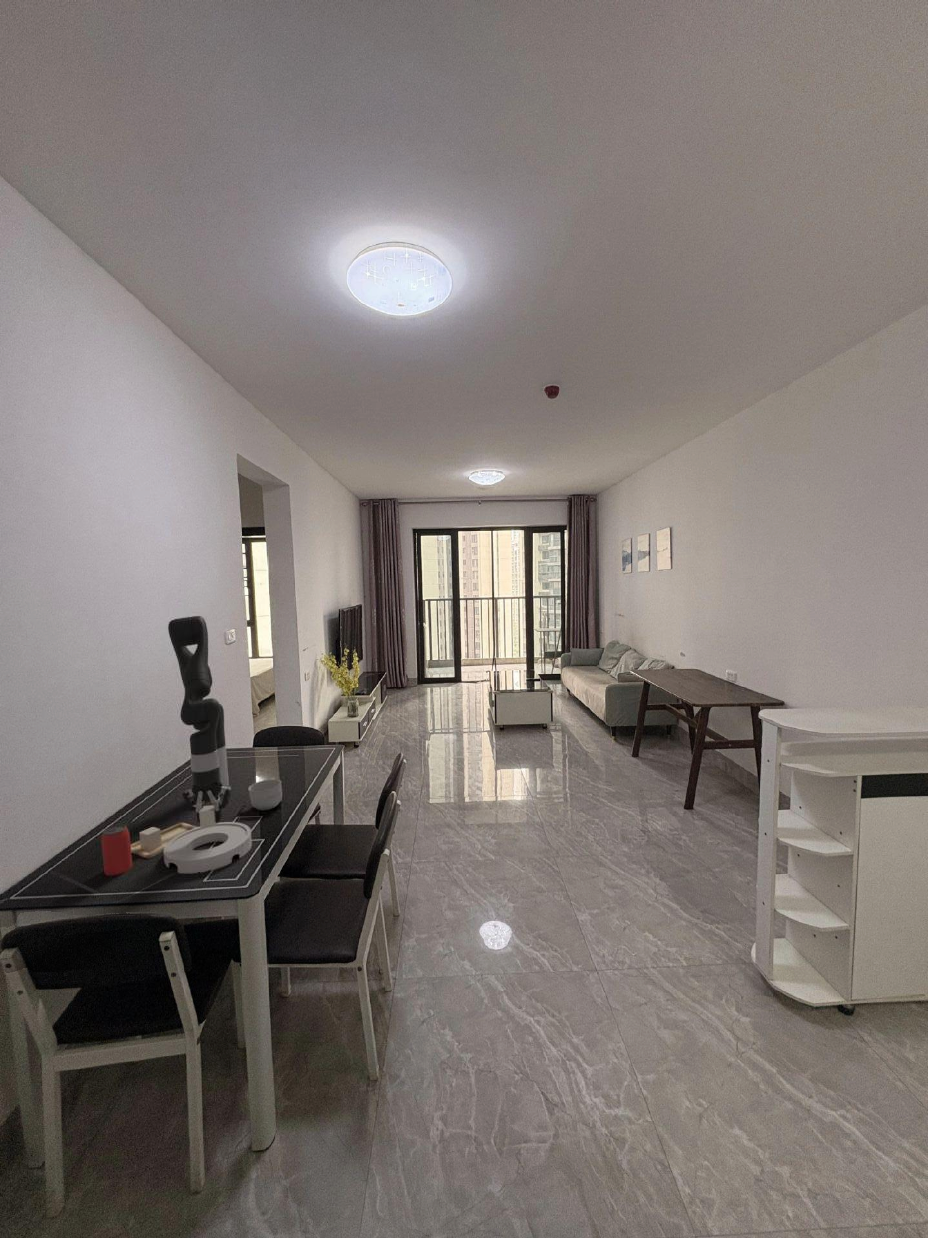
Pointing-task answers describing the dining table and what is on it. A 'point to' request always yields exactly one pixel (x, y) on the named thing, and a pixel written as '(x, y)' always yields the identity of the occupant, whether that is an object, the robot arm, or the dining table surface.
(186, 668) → the robot arm
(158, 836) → the stone block
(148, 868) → the dining table surface
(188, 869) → the ashtray
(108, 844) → the beer can
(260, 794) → the teacup
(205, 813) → the stone block
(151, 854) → the tray
